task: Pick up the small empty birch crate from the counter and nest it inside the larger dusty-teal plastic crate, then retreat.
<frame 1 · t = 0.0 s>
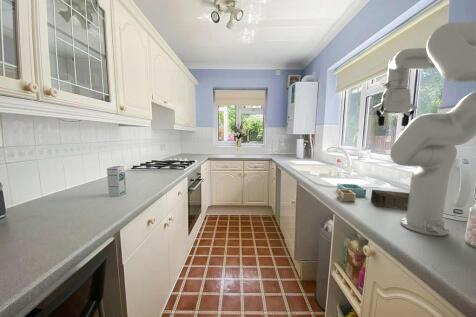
hand: (392, 125, 94), 37 cm above the worktop, tool pointing down, fingers open, 9 cm apart
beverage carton: (395, 206, 98), on the worktop
small crate: (345, 199, 106), on the worktop
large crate: (350, 193, 117), on the worktop
syrup box: (117, 194, 108), on the worktop
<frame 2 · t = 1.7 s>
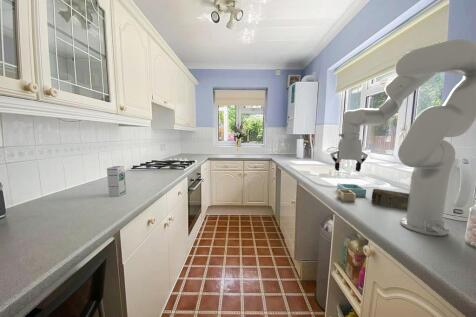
hand: (347, 170, 105), 15 cm above the worktop, tool pointing down, fingers open, 9 cm apart
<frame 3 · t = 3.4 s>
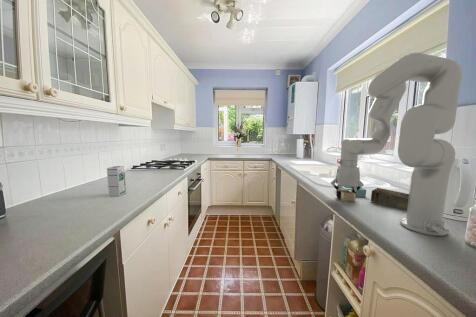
hand: (345, 198, 106), 1 cm above the worktop, tool pointing down, fingers closed on small crate, 6 cm apart
small crate: (345, 199, 106), on the worktop, touching gripper
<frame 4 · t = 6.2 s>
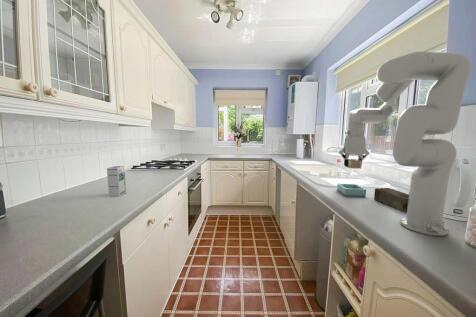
hand: (352, 166, 115), 15 cm above the worktop, tool pointing down, fingers closed on small crate, 6 cm apart
small crate: (352, 167, 115), point 15 cm above the worktop, touching gripper
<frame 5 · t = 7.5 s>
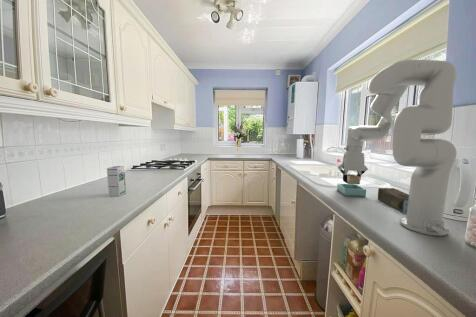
hand: (351, 181, 116), 7 cm above the worktop, tool pointing down, fingers closed on small crate, 6 cm apart
small crate: (351, 182, 116), point 6 cm above the worktop, touching gripper
when the fingers open (5 cm above the worktop, at t = 8.9 s): small crate drops 3 cm, resting on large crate.
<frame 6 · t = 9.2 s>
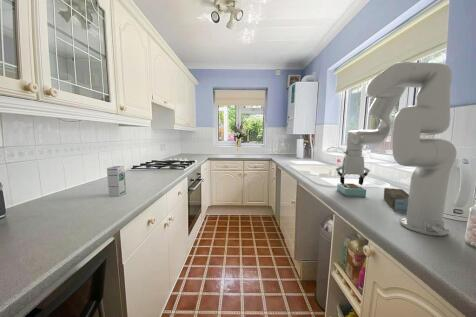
hand: (351, 184, 116), 5 cm above the worktop, tool pointing down, fingers open, 9 cm apart
small crate: (350, 191, 117), point 1 cm above the worktop, touching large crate
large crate: (350, 193, 117), on the worktop, touching small crate
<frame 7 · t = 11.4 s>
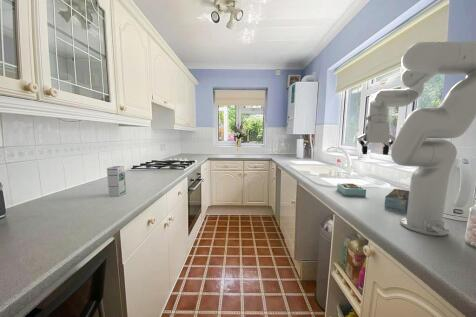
hand: (374, 154, 104), 23 cm above the worktop, tool pointing down, fingers open, 9 cm apart
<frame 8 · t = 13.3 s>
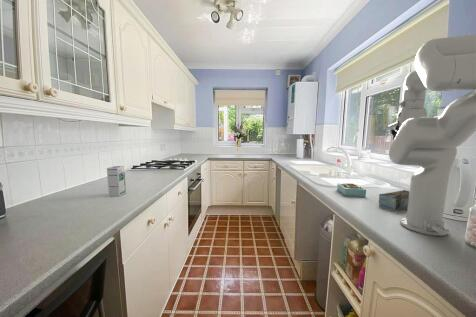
hand: (408, 145, 92), 28 cm above the worktop, tool pointing down, fingers open, 9 cm apart
at the end: small crate 0.0 cm off-centre on the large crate, point 0.8 cm above the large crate's base; small crate tilted 0°; the gripper is holding nothing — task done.
